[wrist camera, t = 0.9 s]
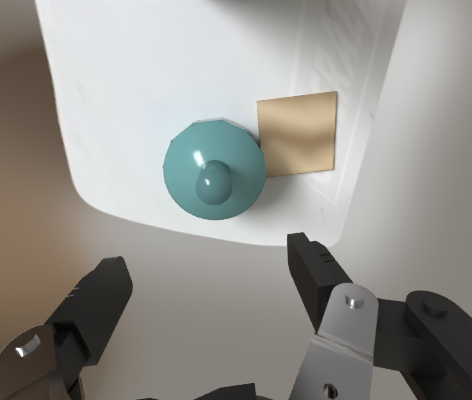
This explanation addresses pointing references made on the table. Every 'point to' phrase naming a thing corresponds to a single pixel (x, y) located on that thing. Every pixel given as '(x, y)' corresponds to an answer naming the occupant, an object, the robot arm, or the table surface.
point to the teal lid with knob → (214, 169)
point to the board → (297, 133)
